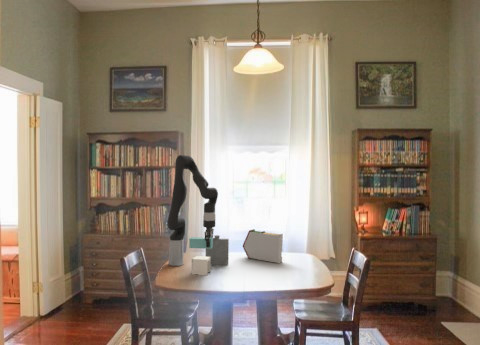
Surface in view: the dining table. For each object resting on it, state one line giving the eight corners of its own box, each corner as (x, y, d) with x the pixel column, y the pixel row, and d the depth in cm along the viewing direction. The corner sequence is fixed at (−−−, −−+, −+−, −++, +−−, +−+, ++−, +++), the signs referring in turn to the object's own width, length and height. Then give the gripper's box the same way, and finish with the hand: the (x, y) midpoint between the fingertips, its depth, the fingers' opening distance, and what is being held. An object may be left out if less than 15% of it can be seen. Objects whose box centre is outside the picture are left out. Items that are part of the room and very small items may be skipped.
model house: (284, 232, 252) (248, 227, 268) (279, 233, 245) (242, 229, 261) (283, 261, 253) (248, 255, 269) (278, 264, 245) (242, 257, 261)
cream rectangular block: (191, 274, 218) (191, 259, 218) (195, 270, 226) (195, 256, 226) (207, 275, 216) (207, 259, 216) (210, 271, 224) (210, 256, 224)
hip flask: (228, 263, 244) (228, 235, 243) (227, 265, 239) (228, 236, 239) (205, 263, 245) (206, 234, 245) (204, 264, 241) (205, 235, 241)
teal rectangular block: (189, 248, 220) (189, 238, 220) (191, 246, 224) (191, 237, 224) (211, 248, 218) (211, 239, 218) (212, 247, 223) (212, 237, 222)
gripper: (206, 217, 228) (206, 243, 228) (200, 220, 214) (200, 248, 214) (217, 218, 227) (217, 244, 227) (212, 221, 213) (212, 249, 213)
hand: (208, 246), depth 220 cm, fingers closed on teal rectangular block, 4 cm apart
